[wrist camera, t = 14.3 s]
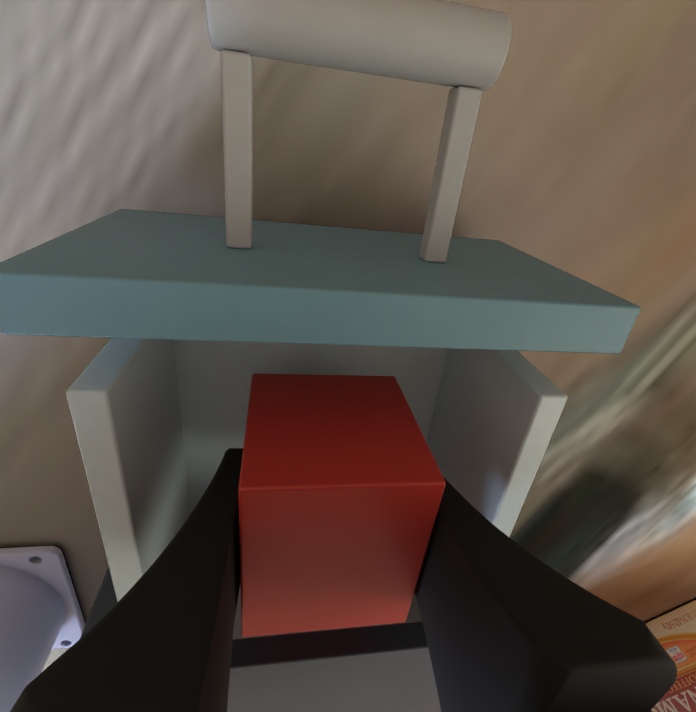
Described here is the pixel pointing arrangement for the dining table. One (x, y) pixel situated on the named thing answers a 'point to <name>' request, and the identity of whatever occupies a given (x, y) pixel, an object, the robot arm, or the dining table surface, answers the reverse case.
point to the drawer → (308, 296)
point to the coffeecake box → (678, 656)
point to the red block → (332, 503)
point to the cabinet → (323, 668)
